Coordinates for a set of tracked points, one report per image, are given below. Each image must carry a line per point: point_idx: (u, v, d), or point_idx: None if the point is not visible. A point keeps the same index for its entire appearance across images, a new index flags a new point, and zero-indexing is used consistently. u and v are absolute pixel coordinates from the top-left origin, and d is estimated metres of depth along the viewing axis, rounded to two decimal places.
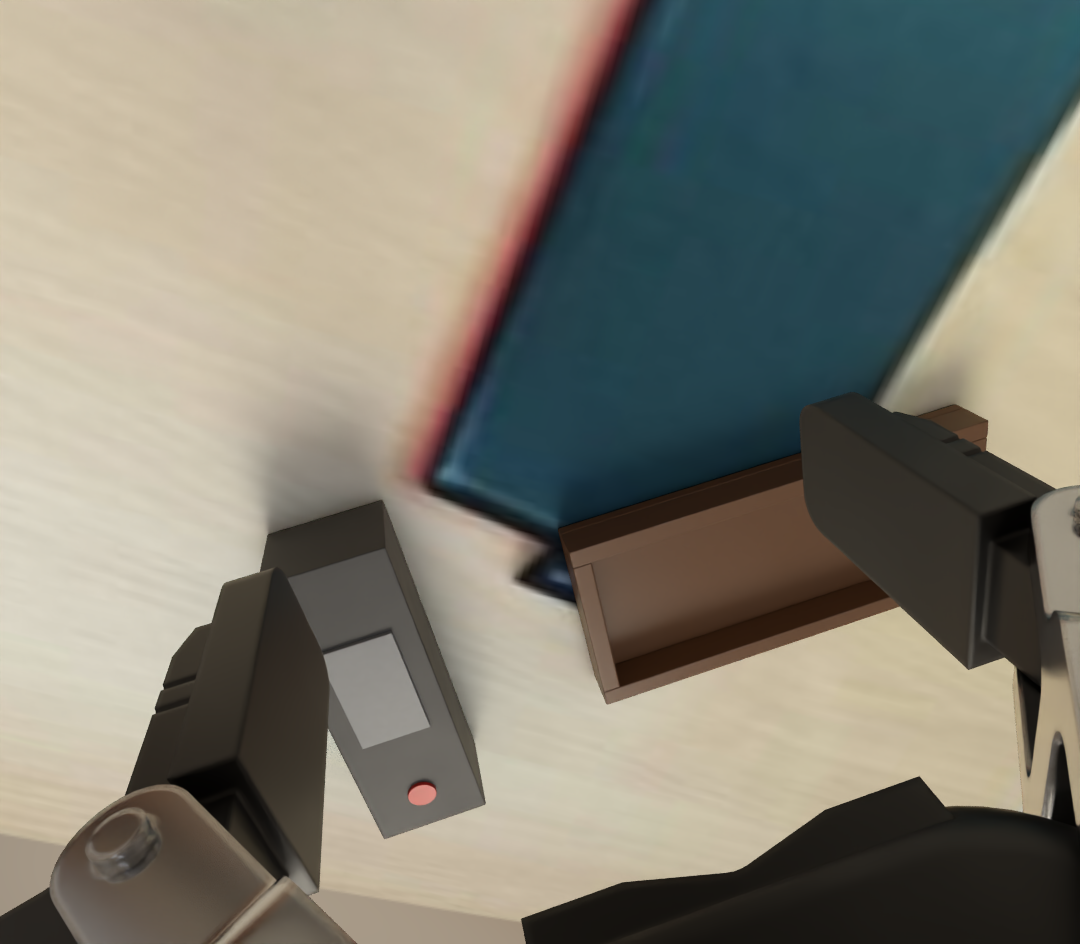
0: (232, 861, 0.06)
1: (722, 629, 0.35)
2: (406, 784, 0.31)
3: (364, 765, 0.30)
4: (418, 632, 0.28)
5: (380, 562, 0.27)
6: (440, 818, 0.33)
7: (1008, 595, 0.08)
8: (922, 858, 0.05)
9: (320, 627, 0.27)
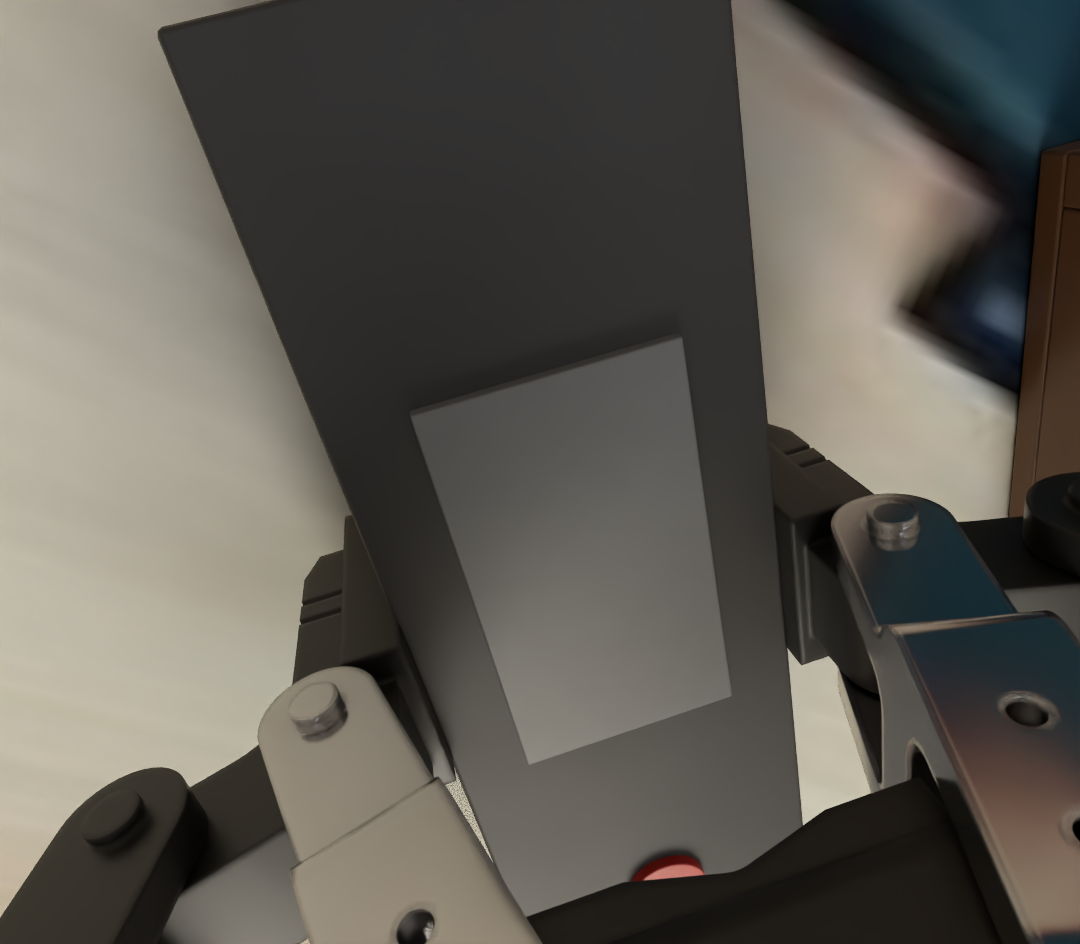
0: (400, 751, 0.07)
1: None
2: (630, 862, 0.11)
3: (522, 813, 0.10)
4: (759, 352, 0.08)
5: None
6: None
7: (822, 596, 0.09)
8: (921, 858, 0.05)
9: (427, 292, 0.07)
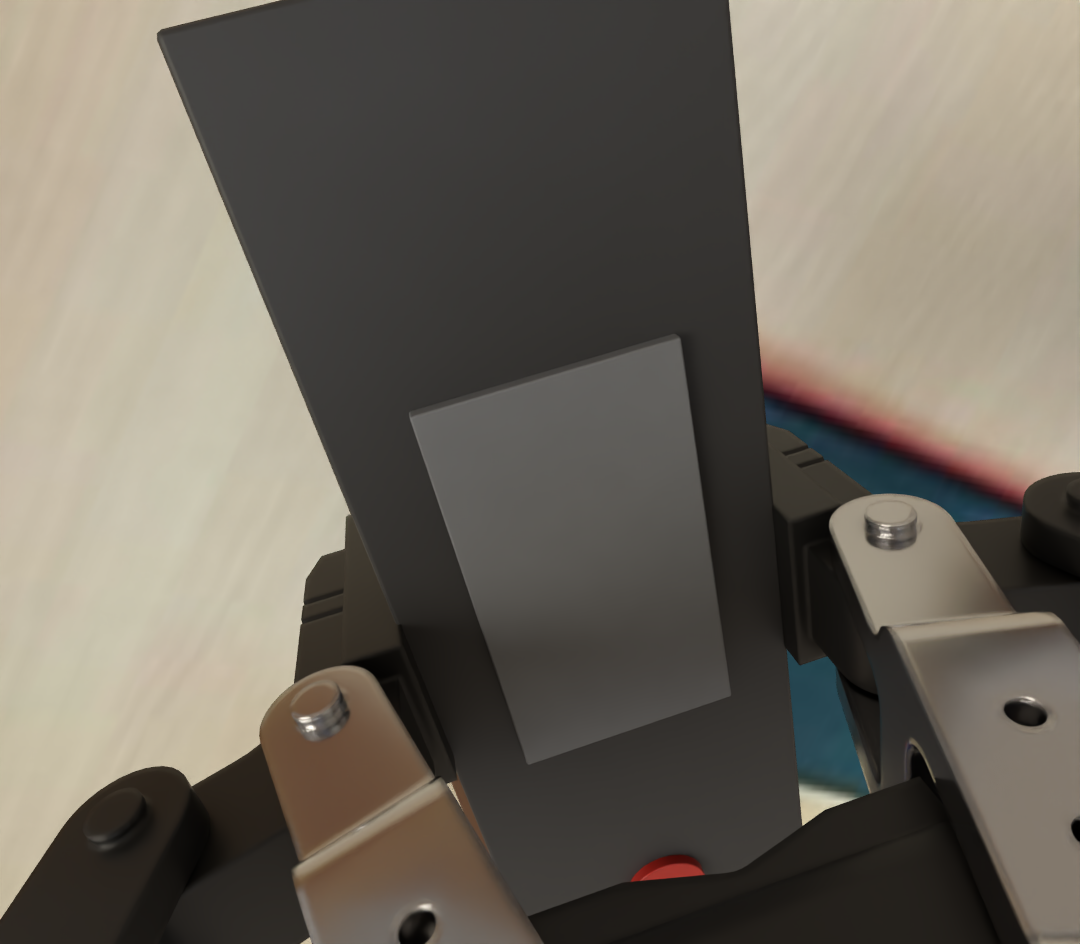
0: (402, 749, 0.07)
1: None
2: (629, 862, 0.11)
3: (522, 813, 0.10)
4: (758, 353, 0.08)
5: None
6: None
7: (820, 596, 0.09)
8: (922, 858, 0.05)
9: (426, 292, 0.07)
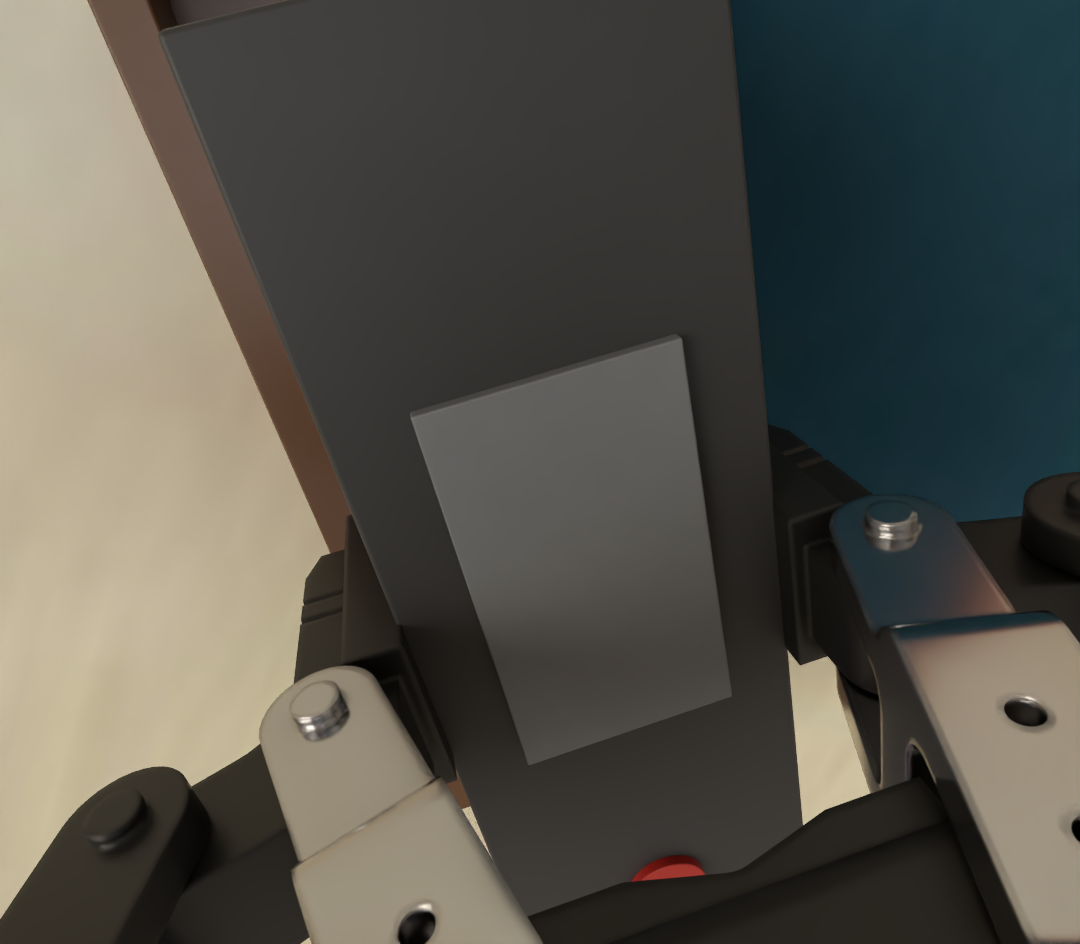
0: (401, 750, 0.07)
1: None
2: (630, 862, 0.11)
3: (523, 813, 0.10)
4: (759, 354, 0.08)
5: None
6: None
7: (821, 595, 0.09)
8: (922, 858, 0.05)
9: (427, 293, 0.07)
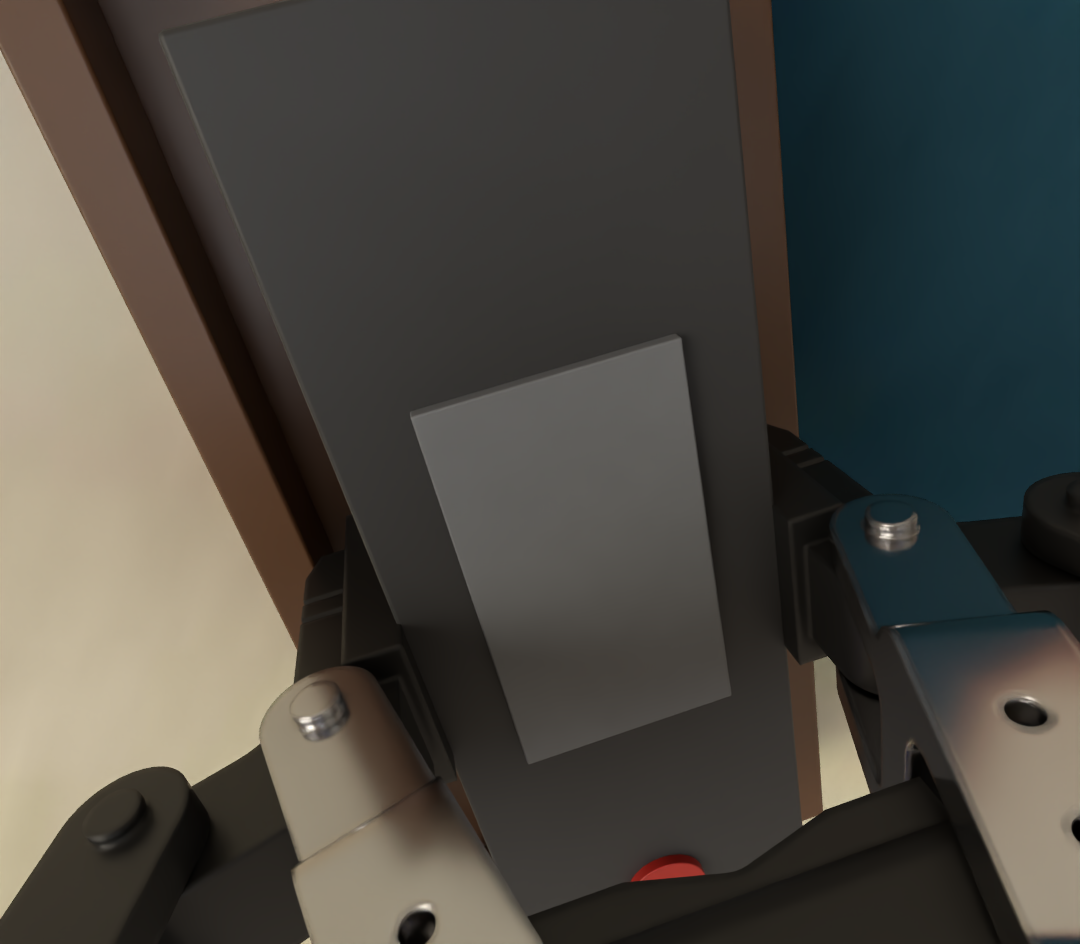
0: (401, 750, 0.07)
1: (259, 382, 0.11)
2: (630, 861, 0.11)
3: (523, 812, 0.10)
4: (758, 353, 0.08)
5: None
6: None
7: (820, 596, 0.09)
8: (922, 858, 0.05)
9: (427, 293, 0.07)
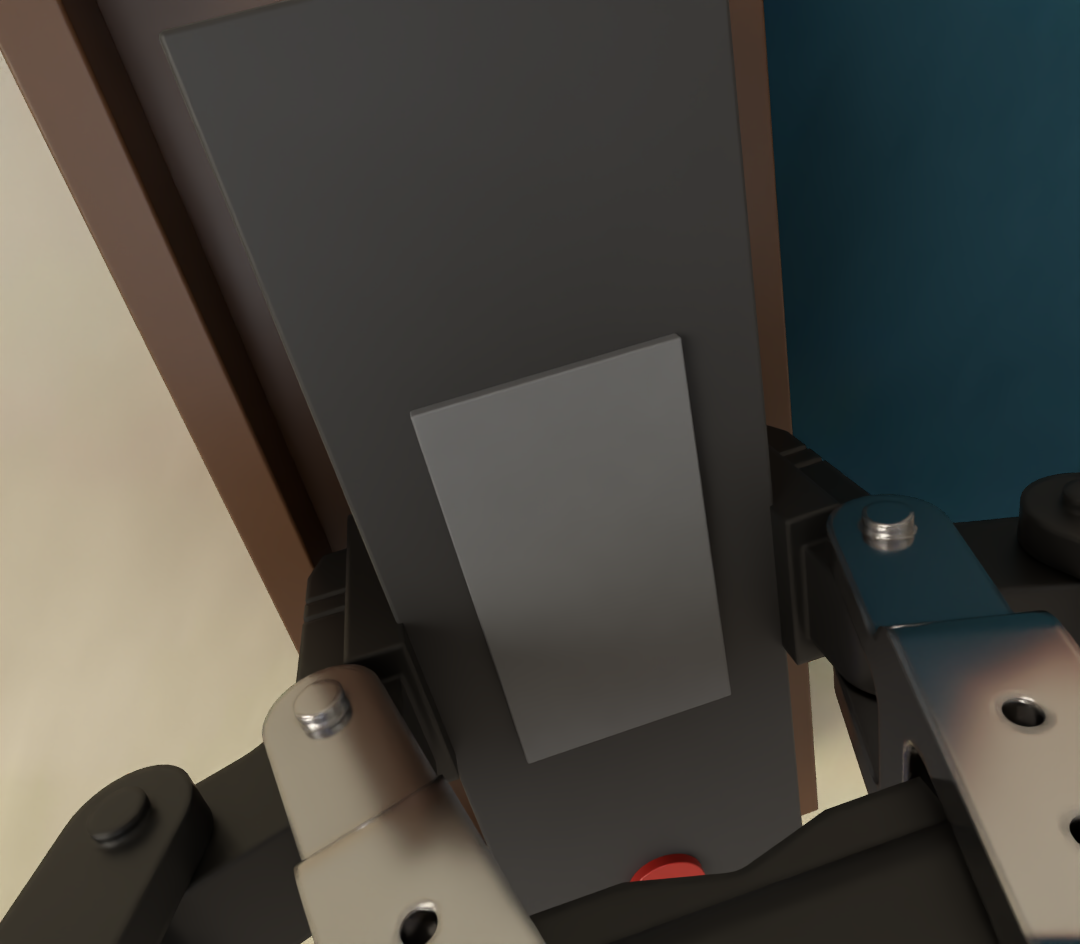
0: (404, 748, 0.07)
1: (257, 380, 0.11)
2: (629, 860, 0.11)
3: (523, 812, 0.10)
4: (758, 353, 0.08)
5: None
6: None
7: (818, 596, 0.09)
8: (922, 858, 0.05)
9: (427, 293, 0.07)
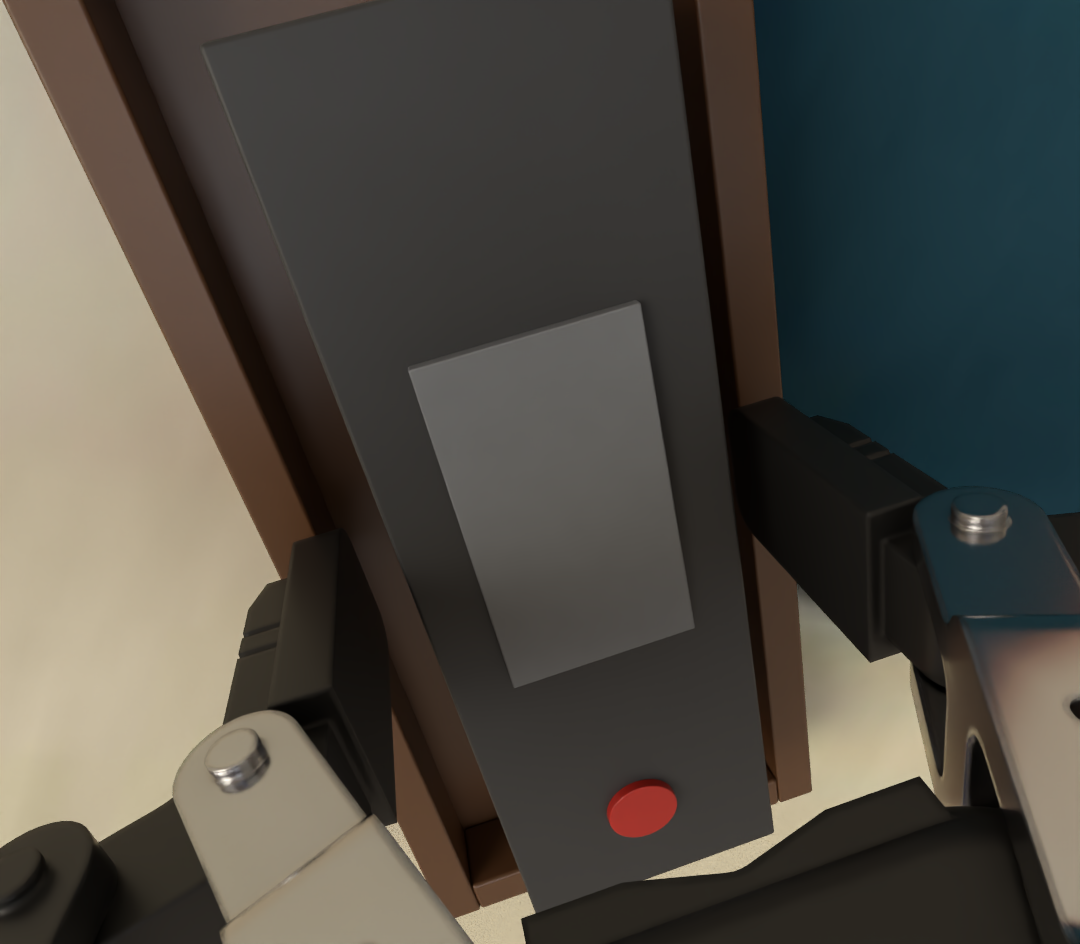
0: (329, 791, 0.06)
1: (268, 370, 0.12)
2: (608, 784, 0.12)
3: (511, 735, 0.11)
4: (709, 318, 0.09)
5: None
6: (671, 867, 0.14)
7: (898, 591, 0.08)
8: (922, 858, 0.05)
9: (422, 263, 0.08)
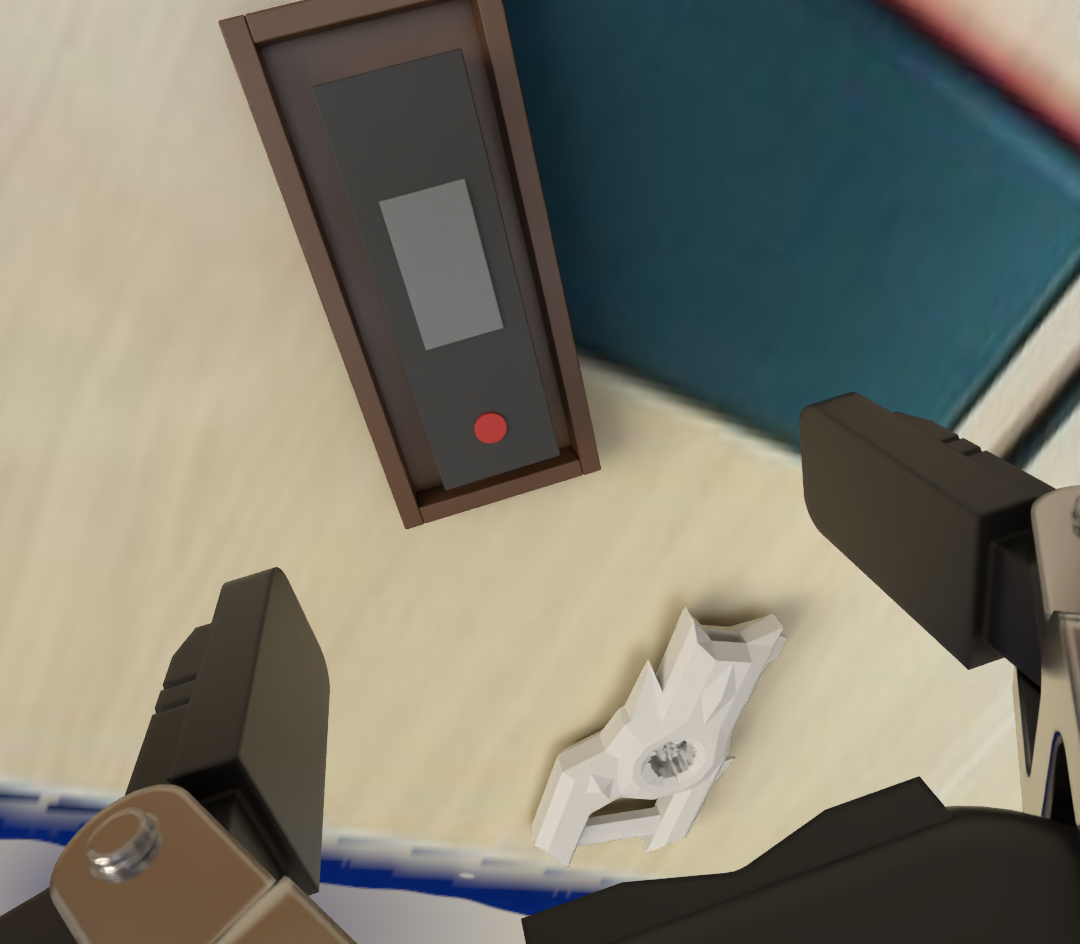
0: (232, 861, 0.06)
1: (321, 222, 0.27)
2: (473, 412, 0.27)
3: (426, 378, 0.26)
4: (494, 187, 0.24)
5: (454, 70, 0.22)
6: (509, 468, 0.29)
7: (1008, 595, 0.08)
8: (922, 858, 0.05)
9: (383, 161, 0.23)
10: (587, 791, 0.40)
